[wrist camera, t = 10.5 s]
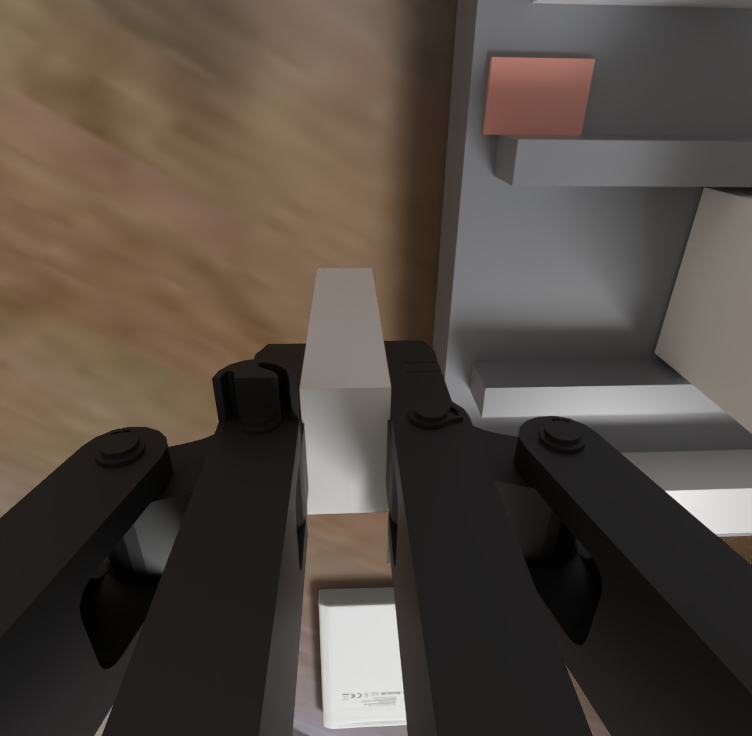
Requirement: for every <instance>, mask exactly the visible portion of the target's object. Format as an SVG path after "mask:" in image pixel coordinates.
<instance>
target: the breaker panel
mask: <svg viewBox="0 0 752 736" xmlns="http://www.w3.org/2000/svg"><path fill="white" fill-rule="evenodd" d="M704 187H752V0H457V13H456V27H455V41H454V55H453V69H452V83H451V97H450V111H449V125H448V139H447V153H446V166H445V180H444V194H443V208H442V222H441V236H440V250H439V264H438V278H437V292H436V306H435V319H434V333H433V347H432V349H433V350H434V351H435V354H436V357H437V360H438V364H439V366H440V368H441V373H442V374H443V377H444V380H445V383H446V385H447V388H448V391H449V394H450V397H451V400H452V402H454V403H456V404H457V405H459V406H460V407H462V408H464V410H465V411H466V412H467V414H468V415H469V416H470V419H471V422H472V424H473V426H475V427H478V428H480V429H483V430H486V431H490V432H494V433H499V434H505V435H511V436H516V437H518V434H519V428H520V426H521V425H522V424H523V423H524V422H525V421H526V420H529V419H532V418H535V417H539V416H559V417H565V418H569V419H571V420H574V421H577V422H579V423H582V424H585V425H586V426H588V427H589V428H591V429H592V430H594V431H595V432H597V433H598V434H599V435H600V436H601V437H603V438H604V439H605V440H606V441H607V442H608V443H610V444H611V445H612V446H613V447H614V448H615V449H617V450H618V451H619V452H620V453H621V454H622V455H624V456H625V457H626V458H627V459H628V460H629V461H631V462H632V463H633V464H634V465H635V466H636V467H638V468H639V469H640V470H641V471H642V472H643V473H645V474H646V475H647V476H648V477H649V478H650V479H652V480H653V481H654V482H655V483H656V484H657V485H658V486H660V487H661V488H662V489H663V490H664V491H665V492H667V493H668V494H669V495H670V496H671V497H672V498H674V499H675V500H676V501H677V502H678V503H679V504H681V505H682V506H683V507H684V508H685V509H686V510H688V511H689V512H690V513H691V514H692V515H693V516H695V517H696V518H697V519H698V520H699V521H700V522H702V523H703V524H704V525H705V526H706V527H707V528H709V529H710V530H711V531H712V532H713V533H714V534H716V535H717V536H718V537H726V536H752V434H751V433H750V432H749V431H748V430H747V429H745V428H744V427H743V426H742V425H741V424H739V423H738V422H737V421H736V420H735V419H733V418H732V417H731V416H730V415H729V414H727V413H726V412H725V411H724V410H723V409H721V408H720V407H719V406H718V405H717V404H715V403H714V402H713V401H712V400H711V399H709V398H708V397H707V396H706V395H704V394H703V393H702V392H701V391H700V390H698V389H697V388H696V387H695V386H694V385H692V384H691V383H690V382H689V381H688V380H686V379H685V378H684V377H683V376H682V375H680V374H679V373H678V372H677V371H676V370H674V369H673V368H672V367H671V366H670V365H668V364H667V363H666V362H665V361H664V360H662V359H661V358H660V357H659V356H658V355H656V354H655V353H654V352H655V349H656V346H657V342H658V339H659V336H660V332H661V329H662V326H663V322H664V319H665V316H666V312H667V309H668V306H669V302H670V299H671V296H672V292H673V289H674V286H675V282H676V279H677V276H678V272H679V269H680V266H681V262H682V259H683V256H684V252H685V249H686V245H687V242H688V239H689V235H690V232H691V229H692V225H693V222H694V219H695V215H696V212H697V209H698V205H699V202H700V199H701V195H702V192H703V189H704Z"/></svg>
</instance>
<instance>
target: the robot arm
mask: <svg viewBox="0 0 752 736" xmlns="http://www.w3.org/2000/svg"><path fill="white" fill-rule="evenodd" d="M212 382H213V388H214V394H215V400H216V407H217V413H218V419H219V423H218V426H217V429H216V431H215V434H214V435H211V436H209V437H207V438H204V439H201V440H197V441H194V442H190V443H185V444H180V445H176V446H171V447H168V444H167V439H166V437H165V436H164V435H163V434H162V433H161V432H160V431H158V430H154V429H151V428H147V427H127V428H122V429H116V430H112V431H110V432H108V433H105V434H103V435H100V436H98V437H95V438H94V439H92V440H91V441H89V442H88V443H86V444H85V445H83V446H82V447H81V448H80V449H79V450H77V451H76V452H75V453H74V454H73V455H72V456H71V457H69V458H68V459H67V460H66V461H65V462H64V463H63V464H61V465H60V466H59V467H58V468H57V469H56V470H55V471H53V472H52V473H51V474H50V475H49V476H48V477H47V478H45V479H44V480H43V481H42V482H41V483H40V484H39V485H37V486H36V487H35V488H34V489H33V490H32V491H31V492H29V493H28V494H27V495H26V496H25V497H24V498H23V499H21V500H20V501H19V502H18V503H17V504H16V505H15V506H14V507H12V508H11V509H10V510H9V511H8V512H7V513H6V514H4V515H3V516H2V517H1V518H0V736H94V735H95V734H96V732H97V730H98V728H99V727H100V725H101V724H102V722H103V720H104V719H105V717H106V715H107V714H108V712H109V710H110V709H111V707H112V705H113V707H112V710H111V713H110V715H109V718H108V721H107V723H106V726H105V728H104V731H103V734H102V736H292V731H293V719H294V706H295V693H296V680H297V667H298V654H299V641H300V628H301V615H302V602H303V589H304V577H305V564H306V551H307V538H308V534H307V520H306V511H307V508H308V514H335V513H367V512H387V509H388V508H389V519H388V550H387V563H391V568H392V578H393V589H394V599H395V609H396V619H397V630H398V640H399V650H400V660H401V670H402V681H403V691H404V701H405V711H406V721H407V732H408V736H593V735H592V733H591V730H590V728H589V725H588V722H587V720H586V717H585V715H584V712H583V709H582V707H581V704H580V702H579V699H578V697H577V694H576V691H575V689H574V686H573V684H572V681H571V678H570V676H569V673H568V671H567V668H566V666H567V667H568V669H569V670H570V672H571V673H572V675H573V676H574V678H575V680H576V681H577V683H578V684H579V686H580V687H581V689H582V691H583V692H584V694H585V695H586V697H587V698H588V700H589V702H590V703H591V705H592V706H593V708H594V709H595V711H596V713H597V714H598V716H599V717H600V719H601V720H602V722H603V723H604V725H605V727H606V728H607V730H608V731H609V733H610V734H611V736H752V565H750V564H749V563H748V562H747V561H746V560H745V559H743V558H742V557H741V556H740V555H739V554H738V553H736V552H735V551H734V550H733V549H732V548H731V547H729V546H728V545H727V544H726V543H725V542H724V541H723V540H721V539H720V538H719V537H718V536H717V535H716V534H714V533H713V532H712V531H711V530H710V529H709V528H707V527H706V526H705V525H704V524H703V523H702V522H700V521H699V520H698V519H697V518H696V517H695V516H693V515H692V514H691V513H690V512H689V511H688V510H686V509H685V508H684V507H683V506H682V505H681V504H679V503H678V502H677V501H676V500H675V499H674V498H672V497H671V496H670V495H669V494H668V493H667V492H665V491H664V490H663V489H662V488H661V487H660V486H658V485H657V484H656V483H655V482H654V481H653V480H652V479H650V478H649V477H648V476H647V475H646V474H645V473H643V472H642V471H641V470H640V469H639V468H638V467H636V466H635V465H634V464H633V463H632V462H631V461H629V460H628V459H627V458H626V457H625V456H624V455H622V454H621V453H620V452H619V451H618V450H617V449H615V448H614V447H613V446H612V445H611V444H610V443H608V442H607V441H606V440H605V439H604V438H603V437H601V436H600V435H599V434H598V433H597V432H595V431H594V430H592V429H591V428H589V427H588V426H586V425H585V424H582V423H579V422H577V421H574V420H571V419H569V418H565V417H559V416H539V417H535V418H532V419H529V420H526V421H525V422H524V423H523V424H522V425H521V426H520V428H519V434H518V437H516V436H511V435H505V434H499V433H494V432H490V431H486V430H483V429H480V428H478V427H475V426H473V424H472V422H471V419H470V416H469V415H468V414H467V412H466V411H465V410H464V408H462V407H460V406H459V405H457V404H456V403H454V402H452V400H451V397H450V394H449V391H448V388H447V385H446V383H445V380H444V377H443V374H442V373H441V368H440V366H439V364H438V360H437V357H436V354H435V351H434V350H433V349H432V348H431V347H429V346H428V345H427V344H426V343H424V342H423V341H422V340H420V341H384V340H383V334H382V328H381V322H380V316H379V310H378V303H377V297H376V291H375V285H374V279H373V273H372V268H317V275H316V281H315V288H314V295H313V302H312V308H311V315H310V322H309V328H308V335H307V342H306V344H268V345H266V346H265V347H264V348H263V349H262V350H260V351H259V352H258V353H257V354H256V355H255V357H254V359H253V360H244V361H241V362H237V363H234V364H230V365H228V366H227V367H225V368H223V369H221V370H219V371H218V372H217V373H216V375H215V376H214V377H213V378H212ZM564 662H565V663H564ZM565 664H566V665H565Z"/></svg>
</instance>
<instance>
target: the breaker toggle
mask: <svg viewBox="0 0 752 736" xmlns="http://www.w3.org/2000/svg"><path fill="white" fill-rule="evenodd" d="M654 353H655V354H656V355H658V356H659V357H660V358H661V359H662V360H664V361H665V362H666V363H667V364H668V365H670V366H671V367H672V368H673V369H674V370H676V371H677V372H678V373H679V374H680V375H682V376H683V377H684V378H685V379H686V380H688V381H689V382H690V383H691V384H692V385H694V386H695V387H696V388H697V389H698V390H700V391H701V392H702V393H703V394H704V395H706V396H707V397H708V398H709V399H711V400H712V401H713V402H714V403H715V404H717V405H718V406H719V407H720V408H721V409H723V410H724V411H725V412H726V413H727V414H729V415H730V416H731V417H732V418H733V419H735V420H736V421H737V422H738V423H739V424H741V425H742V426H743V427H744V428H745V429H747V430H748V431H749V432H750V433H751V434H752V187H704V189H703V192H702V195H701V199H700V202H699V205H698V209H697V212H696V215H695V219H694V222H693V225H692V229H691V232H690V235H689V239H688V242H687V245H686V249H685V252H684V256H683V259H682V262H681V266H680V269H679V272H678V276H677V279H676V282H675V286H674V289H673V292H672V296H671V299H670V302H669V306H668V309H667V312H666V316H665V319H664V322H663V326H662V329H661V332H660V336H659V339H658V342H657V346H656V349H655V352H654Z"/></svg>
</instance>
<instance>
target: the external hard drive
mask: <svg viewBox="0 0 752 736" xmlns="http://www.w3.org/2000/svg"><path fill="white" fill-rule="evenodd" d="M319 626H320V652H321V677H322V702H323V725H324V727H327V728H330V729H338V728H356V727H373V726H395V725H407V721H406V711H405V701H404V691H403V681H402V670H401V660H400V650H399V640H398V630H397V619H396V609H395V599H394V589H393V587H383V588H349V589H320V590H319Z"/></svg>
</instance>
